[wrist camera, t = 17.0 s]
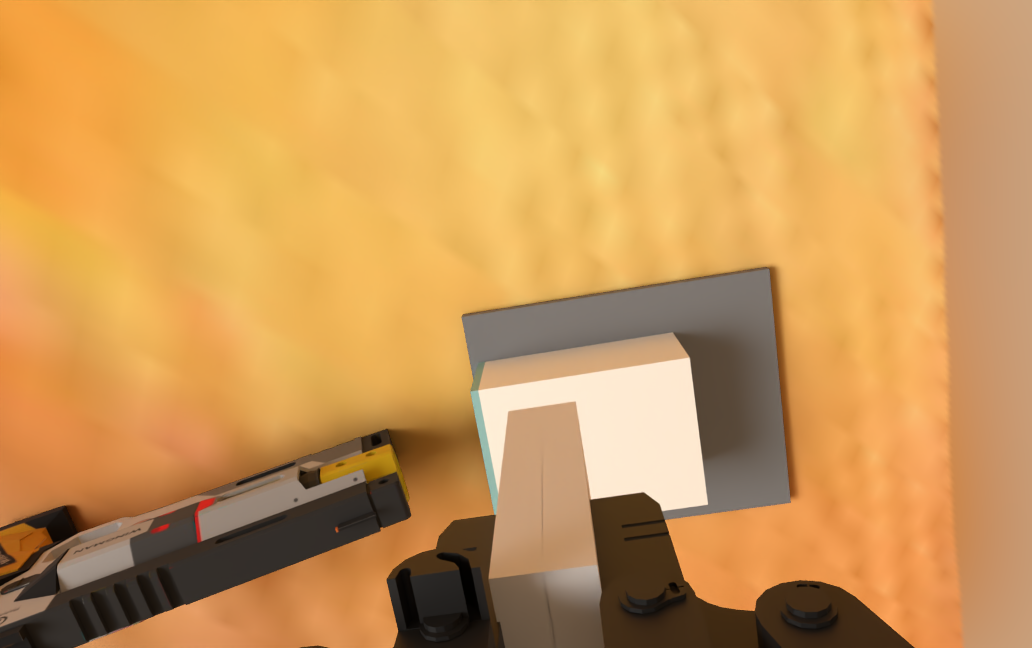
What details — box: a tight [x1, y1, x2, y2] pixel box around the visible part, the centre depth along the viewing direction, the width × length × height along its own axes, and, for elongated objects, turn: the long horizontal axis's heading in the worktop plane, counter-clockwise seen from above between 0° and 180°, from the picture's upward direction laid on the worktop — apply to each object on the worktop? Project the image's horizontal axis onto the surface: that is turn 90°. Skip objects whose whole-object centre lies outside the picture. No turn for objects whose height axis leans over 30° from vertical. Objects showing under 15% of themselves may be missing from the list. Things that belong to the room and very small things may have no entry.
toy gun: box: [0, 429, 411, 648], centre depth 41 cm, size 4×26×15 cm, turn 107°
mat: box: [462, 267, 791, 520], centre depth 44 cm, size 14×17×1 cm
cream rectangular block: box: [470, 332, 708, 515], centre depth 41 cm, size 8×5×11 cm
